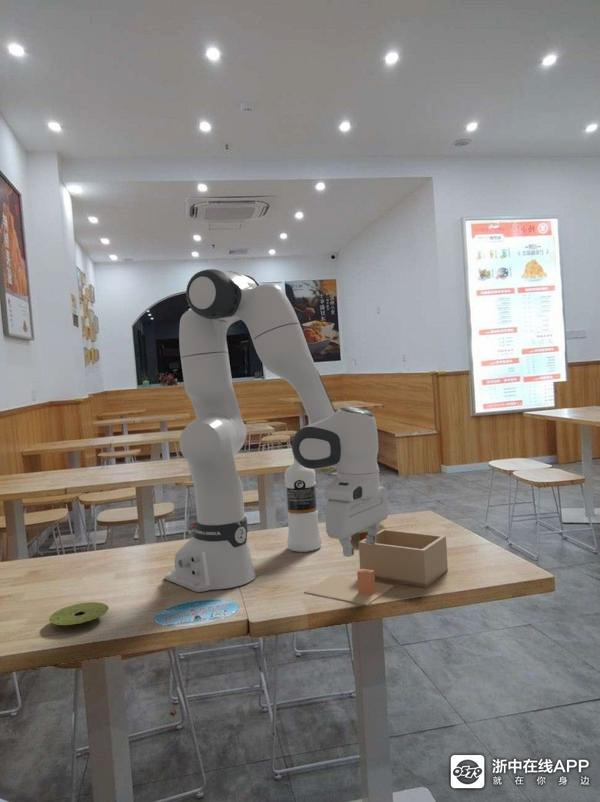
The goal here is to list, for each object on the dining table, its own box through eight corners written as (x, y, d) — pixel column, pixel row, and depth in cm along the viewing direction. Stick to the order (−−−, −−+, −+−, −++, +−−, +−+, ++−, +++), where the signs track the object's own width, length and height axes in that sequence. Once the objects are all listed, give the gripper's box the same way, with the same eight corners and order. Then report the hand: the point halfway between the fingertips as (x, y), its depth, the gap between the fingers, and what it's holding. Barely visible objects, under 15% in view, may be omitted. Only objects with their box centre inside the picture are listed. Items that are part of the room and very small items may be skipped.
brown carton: (360, 576, 134) (358, 542, 133) (385, 561, 143) (383, 528, 143) (426, 587, 124) (424, 550, 124) (447, 570, 134) (445, 536, 134)
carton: (376, 530, 174) (375, 515, 173) (389, 545, 158) (388, 529, 157) (348, 532, 173) (348, 517, 173) (359, 548, 157) (358, 532, 157)
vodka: (324, 542, 162) (317, 435, 161) (318, 553, 153) (311, 439, 152) (291, 543, 164) (284, 436, 163) (284, 553, 155) (276, 440, 154)
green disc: (43, 638, 112) (42, 627, 112) (56, 615, 123) (56, 605, 123) (105, 629, 114) (104, 619, 114) (112, 607, 125) (111, 598, 125)
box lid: (304, 595, 126) (302, 571, 126) (333, 578, 136) (331, 555, 135) (367, 608, 117) (365, 582, 117) (393, 589, 126) (392, 565, 126)
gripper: (369, 475, 133) (371, 535, 134) (318, 492, 117) (321, 560, 117) (394, 477, 129) (396, 539, 130) (346, 495, 113) (348, 565, 114)
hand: (360, 549), depth 124 cm, fingers open, 8 cm apart
